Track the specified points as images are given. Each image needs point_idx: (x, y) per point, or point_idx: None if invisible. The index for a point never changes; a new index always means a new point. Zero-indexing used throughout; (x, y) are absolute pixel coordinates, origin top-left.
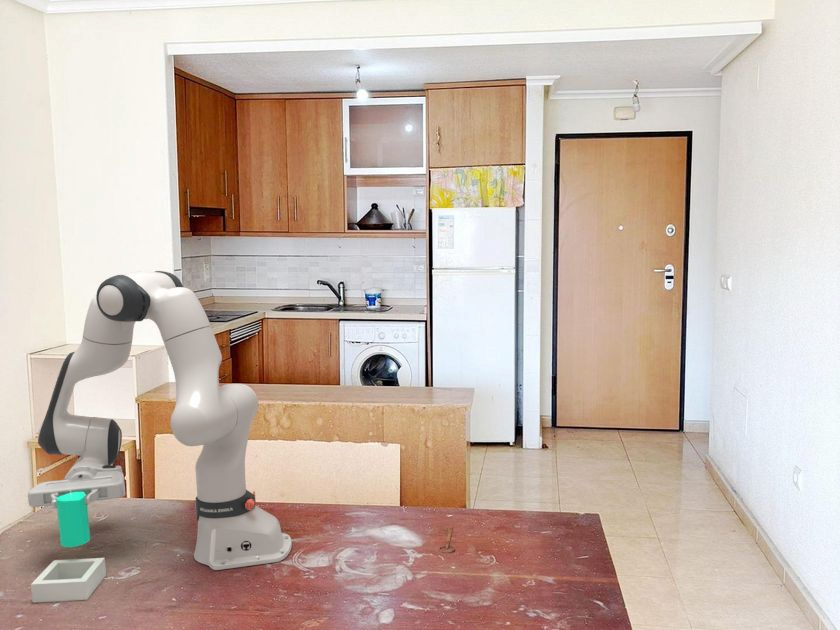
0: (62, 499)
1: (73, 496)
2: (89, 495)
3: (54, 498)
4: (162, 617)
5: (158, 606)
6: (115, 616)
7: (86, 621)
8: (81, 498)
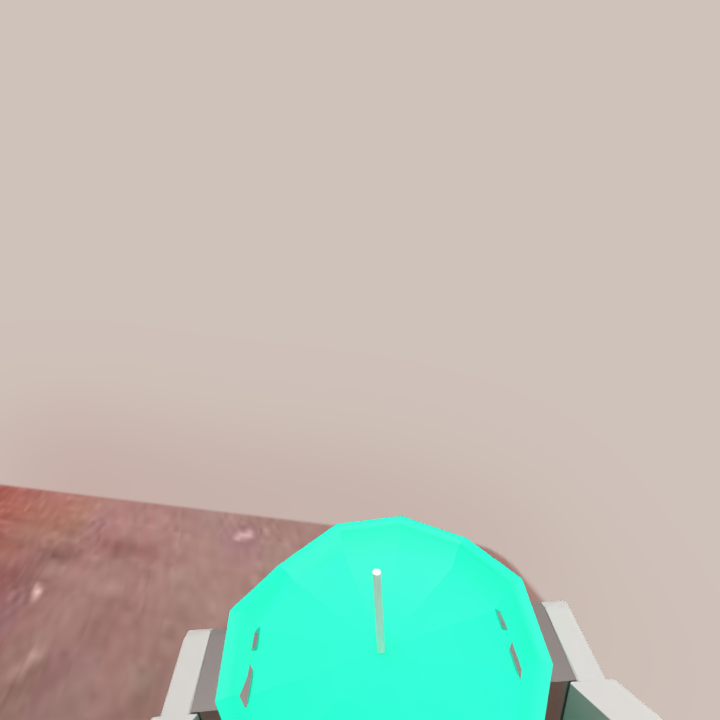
0: (475, 638)
1: (375, 716)
2: (177, 675)
3: (592, 670)
4: (105, 514)
5: (95, 560)
6: (212, 532)
7: (283, 522)
8: (261, 583)
